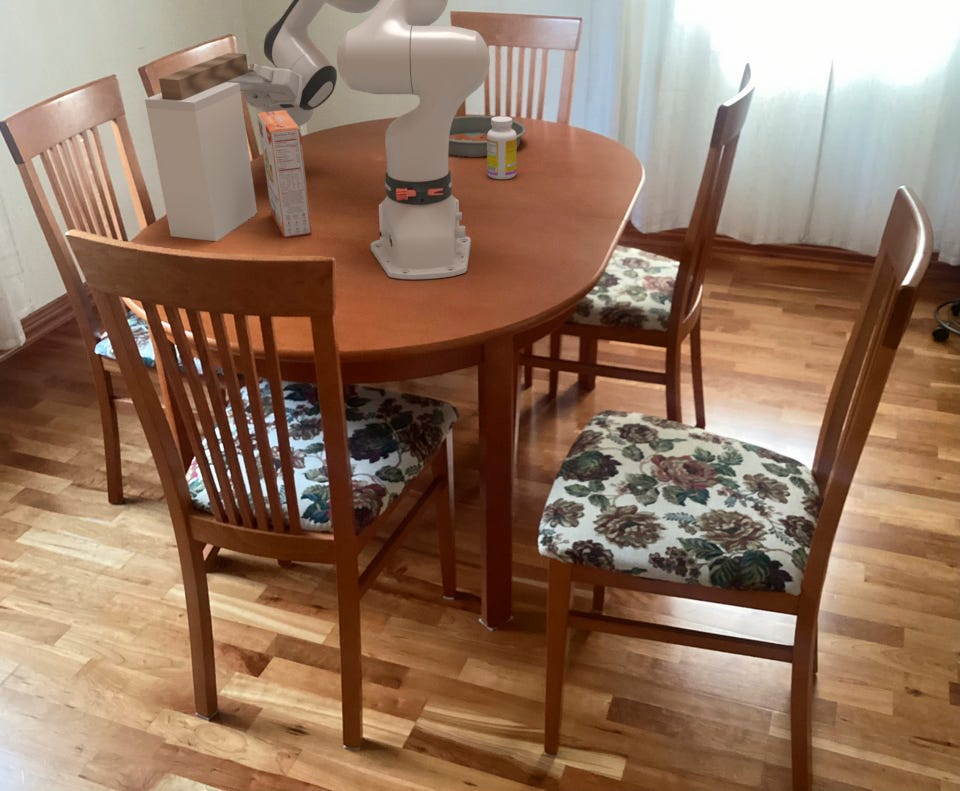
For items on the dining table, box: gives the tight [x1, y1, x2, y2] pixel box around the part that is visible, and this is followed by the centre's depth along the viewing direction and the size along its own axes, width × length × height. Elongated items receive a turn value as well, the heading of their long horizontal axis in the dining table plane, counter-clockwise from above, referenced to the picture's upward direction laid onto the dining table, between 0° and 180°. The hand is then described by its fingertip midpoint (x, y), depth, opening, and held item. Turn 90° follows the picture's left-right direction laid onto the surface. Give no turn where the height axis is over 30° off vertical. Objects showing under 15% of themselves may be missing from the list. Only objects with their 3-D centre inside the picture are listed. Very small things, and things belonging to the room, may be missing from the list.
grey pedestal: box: [144, 82, 258, 242], centre depth 177 cm, size 16×10×26 cm, turn 163°
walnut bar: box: [158, 52, 249, 100], centre depth 173 cm, size 24×4×4 cm, turn 163°
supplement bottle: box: [486, 115, 518, 180], centre depth 206 cm, size 7×7×13 cm
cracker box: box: [257, 110, 313, 238], centre depth 178 cm, size 14×6×21 cm, turn 21°
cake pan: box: [448, 115, 527, 158], centre depth 230 cm, size 25×25×4 cm
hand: (231, 66), depth 181 cm, fingers open, 8 cm apart
